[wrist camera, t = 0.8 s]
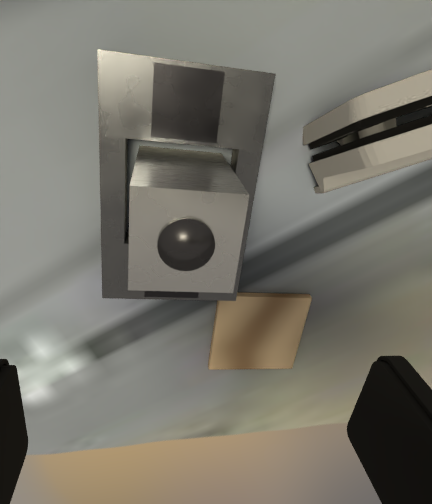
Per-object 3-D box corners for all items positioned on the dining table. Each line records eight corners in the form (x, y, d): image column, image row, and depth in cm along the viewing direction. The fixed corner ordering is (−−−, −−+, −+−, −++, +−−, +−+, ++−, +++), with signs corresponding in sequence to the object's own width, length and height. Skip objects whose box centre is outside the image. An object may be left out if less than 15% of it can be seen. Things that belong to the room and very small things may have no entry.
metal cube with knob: (221, 153, 25) (250, 196, 17) (211, 226, 28) (233, 295, 19) (139, 145, 24) (129, 187, 16) (137, 222, 27) (127, 292, 18)
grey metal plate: (266, 73, 23) (276, 73, 21) (231, 287, 30) (236, 301, 28) (102, 50, 21) (97, 49, 20) (105, 283, 28) (102, 298, 27)
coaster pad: (309, 294, 32) (312, 298, 31) (290, 363, 35) (291, 368, 35) (218, 291, 30) (219, 295, 30) (207, 364, 34) (208, 369, 33)
